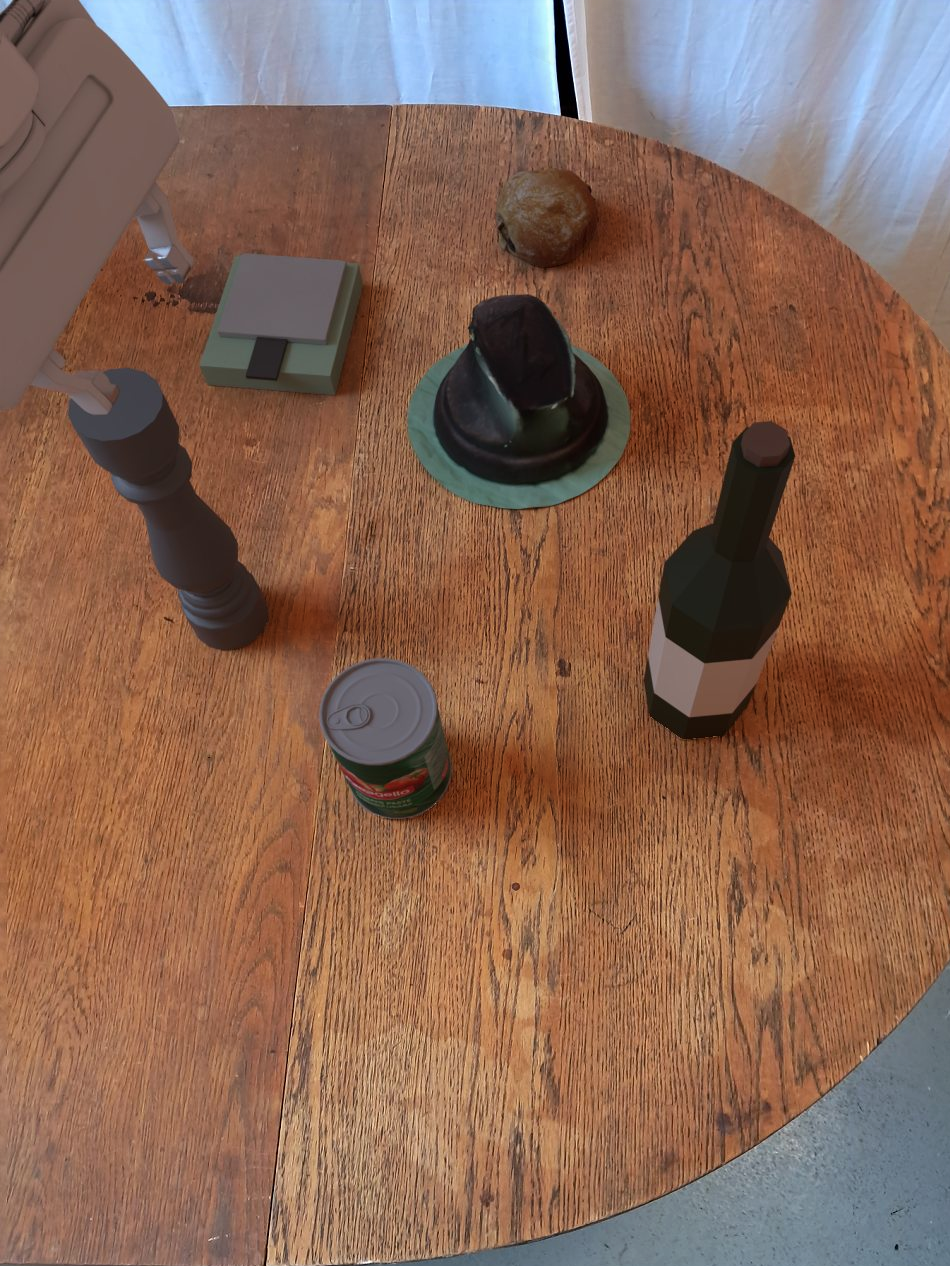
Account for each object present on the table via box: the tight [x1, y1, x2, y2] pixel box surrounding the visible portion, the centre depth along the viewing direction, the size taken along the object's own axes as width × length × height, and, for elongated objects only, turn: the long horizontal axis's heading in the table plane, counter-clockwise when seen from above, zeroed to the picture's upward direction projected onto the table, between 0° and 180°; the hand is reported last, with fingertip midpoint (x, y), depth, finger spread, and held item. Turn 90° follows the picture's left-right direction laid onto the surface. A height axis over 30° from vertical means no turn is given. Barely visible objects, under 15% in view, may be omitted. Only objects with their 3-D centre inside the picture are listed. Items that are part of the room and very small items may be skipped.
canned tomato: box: [318, 657, 453, 820], centre depth 74 cm, size 8×8×11 cm
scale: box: [199, 252, 364, 396], centre depth 97 cm, size 12×15×3 cm
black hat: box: [407, 293, 632, 510], centre depth 91 cm, size 15×19×20 cm
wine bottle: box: [643, 420, 796, 740], centre depth 68 cm, size 8×8×30 cm
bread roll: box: [495, 167, 599, 268], centre depth 102 cm, size 10×10×8 cm
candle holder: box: [67, 367, 270, 651], centre depth 74 cm, size 6×6×25 cm
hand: (145, 337), depth 57 cm, fingers open, 8 cm apart
